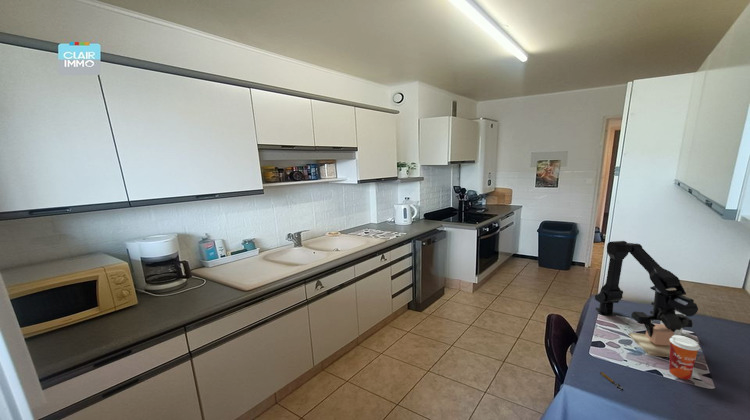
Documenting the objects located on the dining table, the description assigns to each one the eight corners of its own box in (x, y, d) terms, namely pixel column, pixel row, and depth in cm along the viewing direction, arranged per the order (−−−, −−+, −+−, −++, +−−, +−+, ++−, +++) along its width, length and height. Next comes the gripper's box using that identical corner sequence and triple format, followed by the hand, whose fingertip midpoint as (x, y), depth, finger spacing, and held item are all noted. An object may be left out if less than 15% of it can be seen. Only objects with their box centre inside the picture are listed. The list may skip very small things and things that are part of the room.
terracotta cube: (645, 335, 129) (647, 323, 128) (661, 336, 127) (663, 324, 126) (655, 344, 123) (656, 331, 122) (672, 345, 122) (674, 332, 121)
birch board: (628, 335, 134) (629, 332, 134) (665, 337, 131) (665, 335, 131) (649, 355, 121) (649, 352, 120) (690, 358, 118) (691, 356, 117)
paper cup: (670, 377, 109) (674, 344, 106) (662, 364, 115) (666, 332, 113) (699, 384, 105) (705, 349, 103) (689, 370, 112) (694, 337, 109)
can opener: (599, 374, 113) (599, 371, 113) (605, 373, 113) (605, 371, 113) (620, 392, 104) (620, 389, 104) (626, 392, 104) (626, 389, 104)
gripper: (649, 312, 117) (645, 347, 119) (707, 315, 112) (701, 351, 115) (632, 298, 127) (628, 331, 130) (684, 301, 123) (679, 334, 126)
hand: (658, 337), depth 125 cm, fingers closed on terracotta cube, 6 cm apart
